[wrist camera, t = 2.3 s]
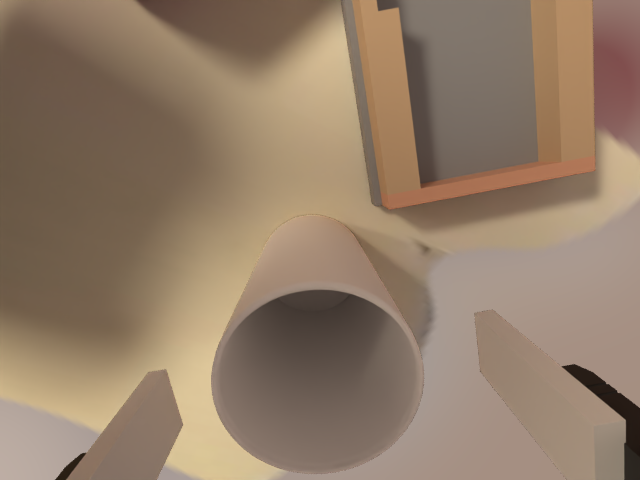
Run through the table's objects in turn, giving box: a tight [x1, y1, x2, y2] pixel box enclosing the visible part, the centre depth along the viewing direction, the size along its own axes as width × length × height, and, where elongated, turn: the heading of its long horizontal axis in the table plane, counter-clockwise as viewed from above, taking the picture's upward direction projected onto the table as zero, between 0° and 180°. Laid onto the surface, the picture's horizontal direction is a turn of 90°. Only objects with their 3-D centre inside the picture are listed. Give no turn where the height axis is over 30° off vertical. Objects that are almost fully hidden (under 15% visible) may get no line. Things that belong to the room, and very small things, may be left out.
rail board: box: [341, 0, 595, 210], centre depth 24 cm, size 15×24×4 cm, turn 11°
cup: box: [211, 215, 424, 474], centre depth 22 cm, size 8×8×16 cm
